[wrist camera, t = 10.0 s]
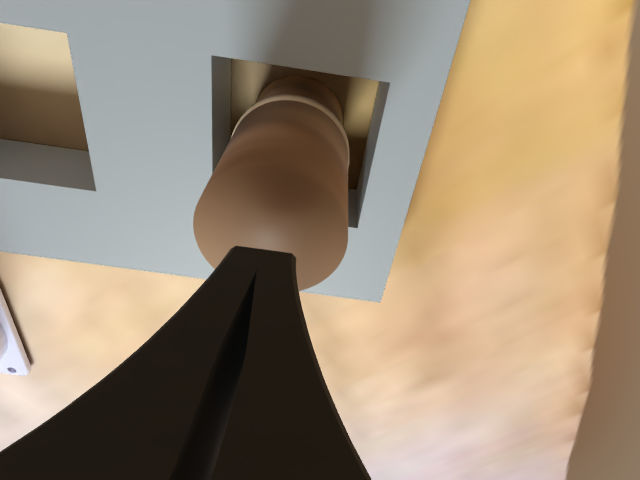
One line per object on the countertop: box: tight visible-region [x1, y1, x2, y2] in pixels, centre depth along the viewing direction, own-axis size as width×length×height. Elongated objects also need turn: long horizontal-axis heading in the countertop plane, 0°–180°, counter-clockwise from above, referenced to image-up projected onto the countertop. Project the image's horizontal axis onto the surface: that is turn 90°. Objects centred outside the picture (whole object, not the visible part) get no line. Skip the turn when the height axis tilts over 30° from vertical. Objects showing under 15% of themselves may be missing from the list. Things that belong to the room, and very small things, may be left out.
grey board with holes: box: [0, 0, 470, 303], centre depth 17 cm, size 19×13×3 cm
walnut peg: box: [193, 75, 349, 291], centre depth 15 cm, size 4×4×8 cm
